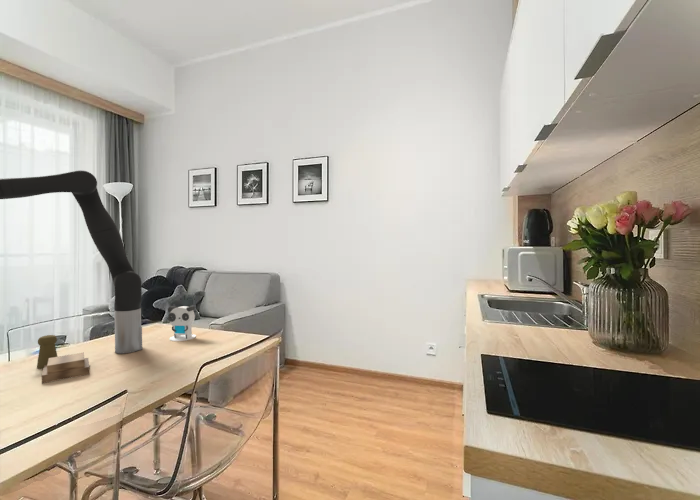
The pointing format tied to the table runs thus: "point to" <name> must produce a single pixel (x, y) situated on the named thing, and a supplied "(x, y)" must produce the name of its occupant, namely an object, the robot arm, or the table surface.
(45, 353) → the cork
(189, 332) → the panda figurine
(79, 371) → the walnut stand
